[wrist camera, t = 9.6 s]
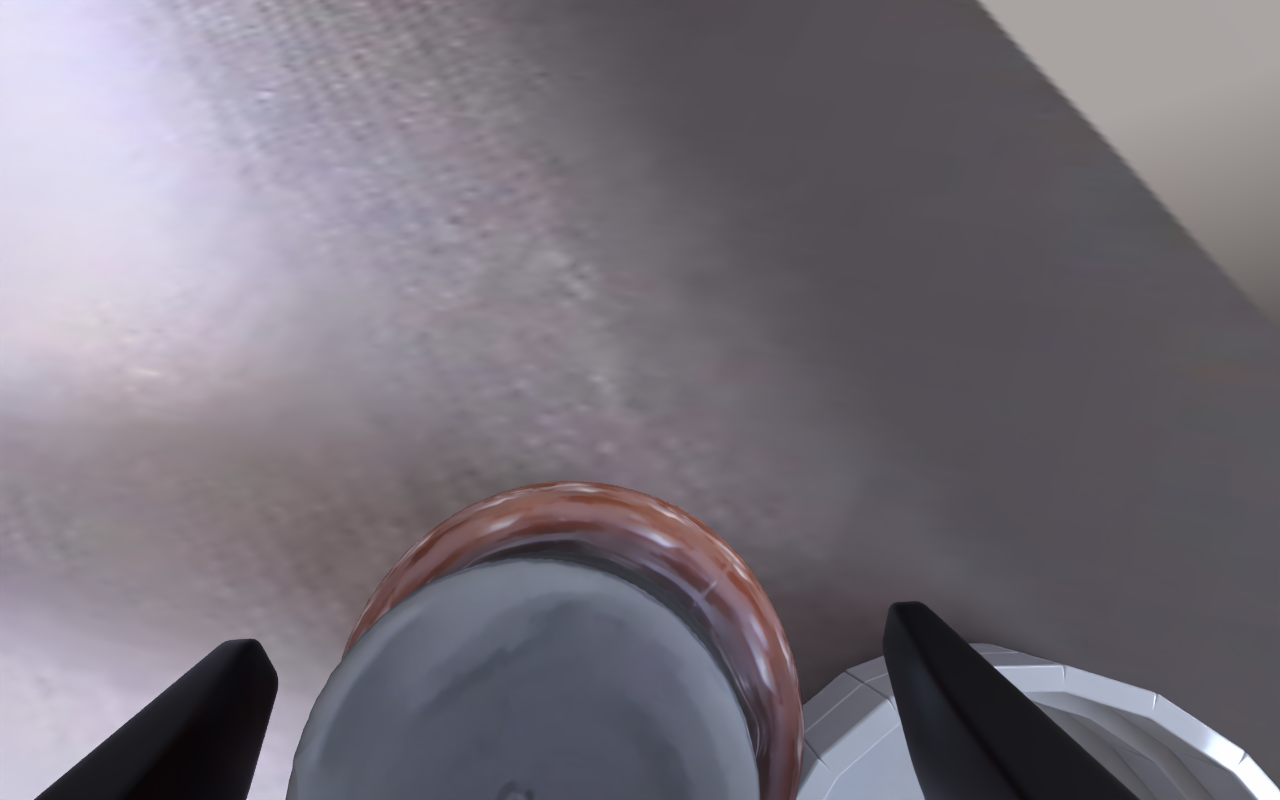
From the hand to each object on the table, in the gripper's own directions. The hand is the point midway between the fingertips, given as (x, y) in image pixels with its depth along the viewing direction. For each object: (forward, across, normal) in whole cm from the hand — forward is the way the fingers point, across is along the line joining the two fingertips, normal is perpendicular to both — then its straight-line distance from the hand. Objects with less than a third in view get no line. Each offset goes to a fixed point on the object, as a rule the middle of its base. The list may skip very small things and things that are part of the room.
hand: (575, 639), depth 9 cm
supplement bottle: (+5, 0, +6) cm, 8 cm away
